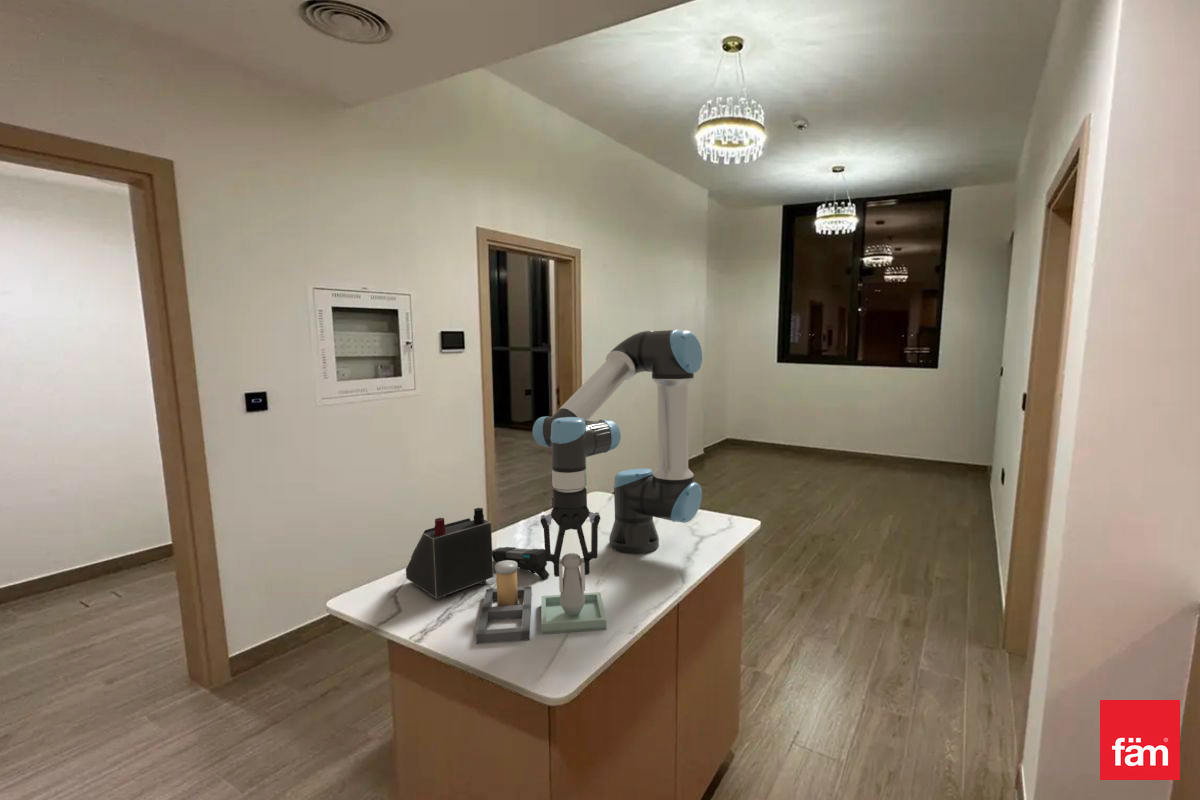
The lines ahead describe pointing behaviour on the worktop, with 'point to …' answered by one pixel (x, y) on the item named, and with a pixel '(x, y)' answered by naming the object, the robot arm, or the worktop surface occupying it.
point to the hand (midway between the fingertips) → (572, 588)
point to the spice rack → (505, 607)
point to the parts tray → (583, 621)
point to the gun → (523, 559)
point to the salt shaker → (572, 585)
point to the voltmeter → (452, 556)
